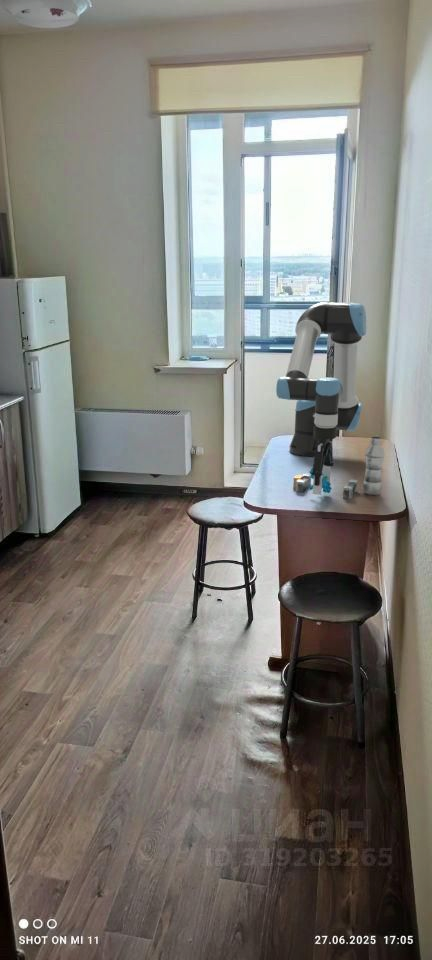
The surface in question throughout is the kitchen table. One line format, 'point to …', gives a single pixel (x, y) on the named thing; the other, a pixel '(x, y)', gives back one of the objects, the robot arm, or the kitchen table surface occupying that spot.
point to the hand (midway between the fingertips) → (321, 489)
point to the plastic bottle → (373, 467)
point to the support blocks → (304, 482)
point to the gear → (325, 483)
